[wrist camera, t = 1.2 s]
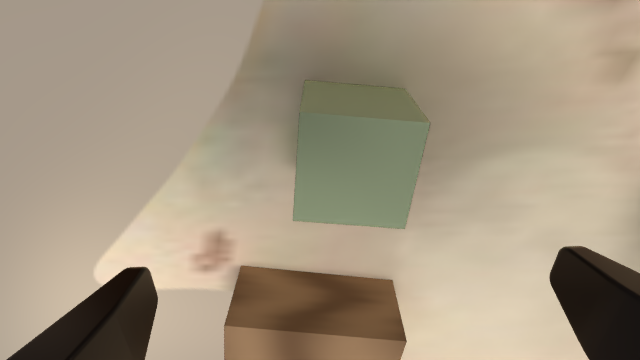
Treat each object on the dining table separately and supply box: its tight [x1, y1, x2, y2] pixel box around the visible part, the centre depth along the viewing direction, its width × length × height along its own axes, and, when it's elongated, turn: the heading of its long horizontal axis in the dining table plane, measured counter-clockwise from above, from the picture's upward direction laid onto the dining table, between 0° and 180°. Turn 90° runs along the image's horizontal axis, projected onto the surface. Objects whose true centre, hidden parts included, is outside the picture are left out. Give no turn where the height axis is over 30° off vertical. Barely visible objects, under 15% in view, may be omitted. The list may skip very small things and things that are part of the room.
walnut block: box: [224, 266, 407, 360], centre depth 25 cm, size 10×10×5 cm
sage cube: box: [293, 80, 430, 229], centre depth 17 cm, size 5×5×5 cm
